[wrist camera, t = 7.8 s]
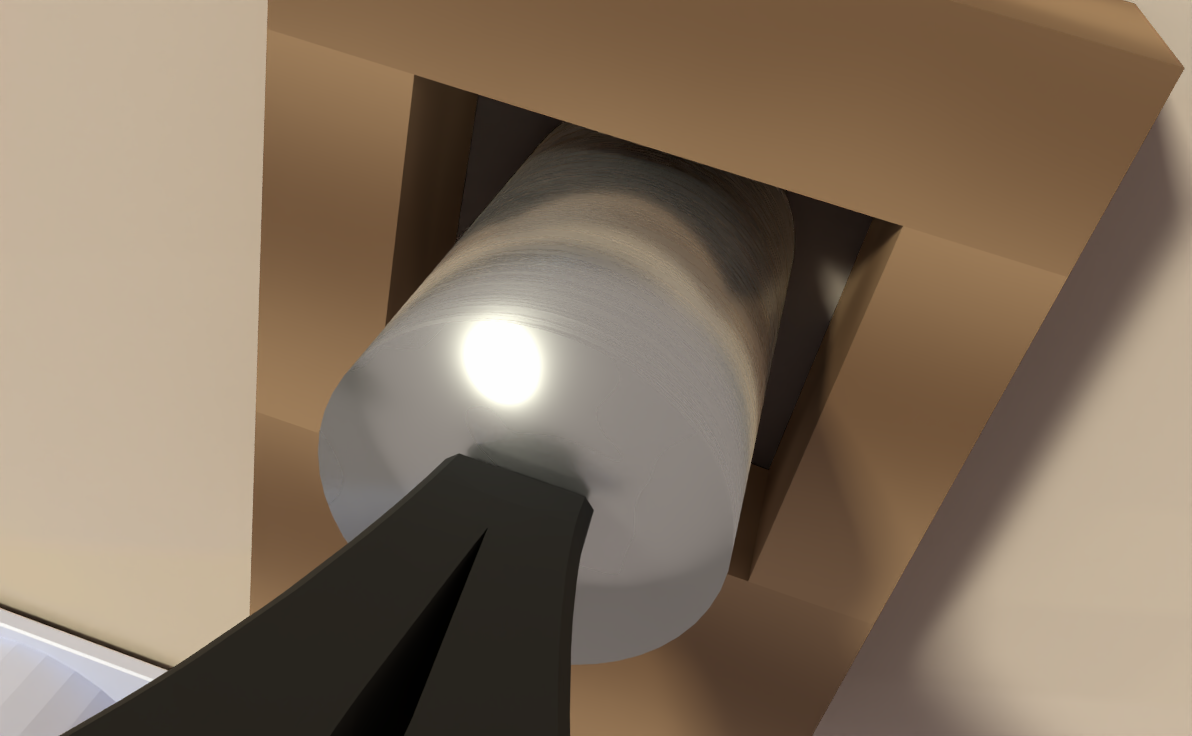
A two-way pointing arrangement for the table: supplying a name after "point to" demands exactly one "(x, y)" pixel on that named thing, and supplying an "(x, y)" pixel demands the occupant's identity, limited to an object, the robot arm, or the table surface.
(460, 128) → the jig
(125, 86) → the table surface
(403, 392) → the brushed metal cylinder
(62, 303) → the table surface
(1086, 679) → the table surface
